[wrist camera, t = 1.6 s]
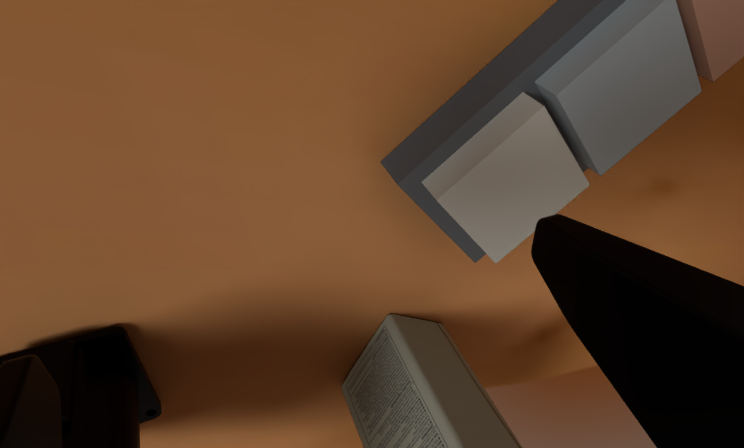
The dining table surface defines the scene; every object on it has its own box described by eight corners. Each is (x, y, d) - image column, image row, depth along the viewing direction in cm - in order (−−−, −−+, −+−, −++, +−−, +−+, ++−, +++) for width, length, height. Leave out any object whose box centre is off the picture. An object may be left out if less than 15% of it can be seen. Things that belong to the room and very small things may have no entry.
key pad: (456, 240, 29) (490, 281, 26) (380, 161, 24) (411, 202, 22) (767, -26, 26) (839, -9, 23) (746, -171, 22) (833, -171, 19)
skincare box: (394, 390, 35) (490, 593, 26) (335, 385, 33) (418, 607, 23) (445, 319, 33) (571, 514, 23) (386, 308, 30) (500, 520, 21)
